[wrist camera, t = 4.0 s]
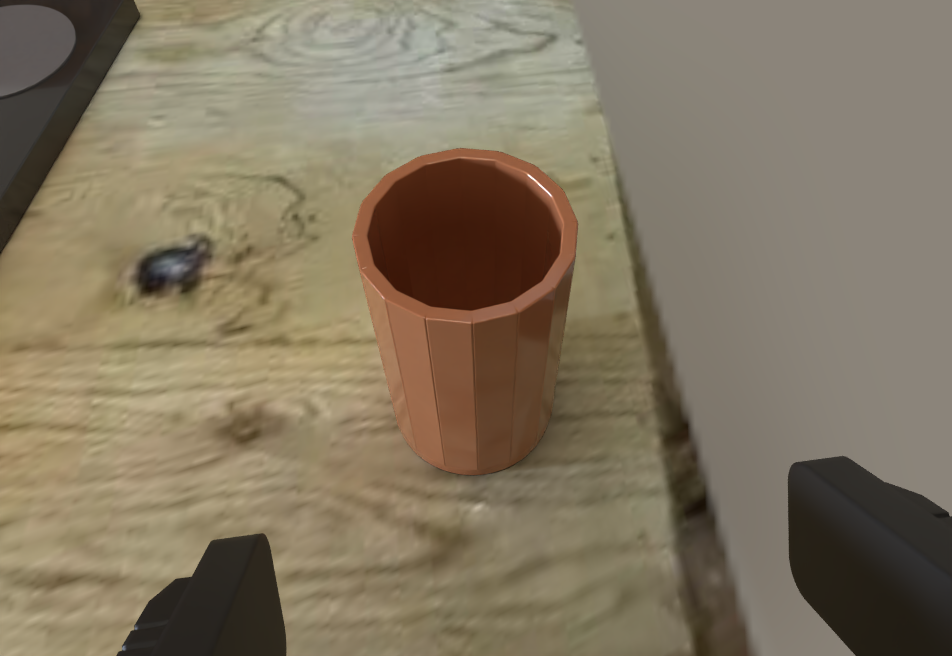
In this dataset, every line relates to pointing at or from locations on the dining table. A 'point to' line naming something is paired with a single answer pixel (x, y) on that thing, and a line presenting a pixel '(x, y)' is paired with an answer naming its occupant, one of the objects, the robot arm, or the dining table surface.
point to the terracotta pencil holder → (468, 302)
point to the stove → (49, 84)
